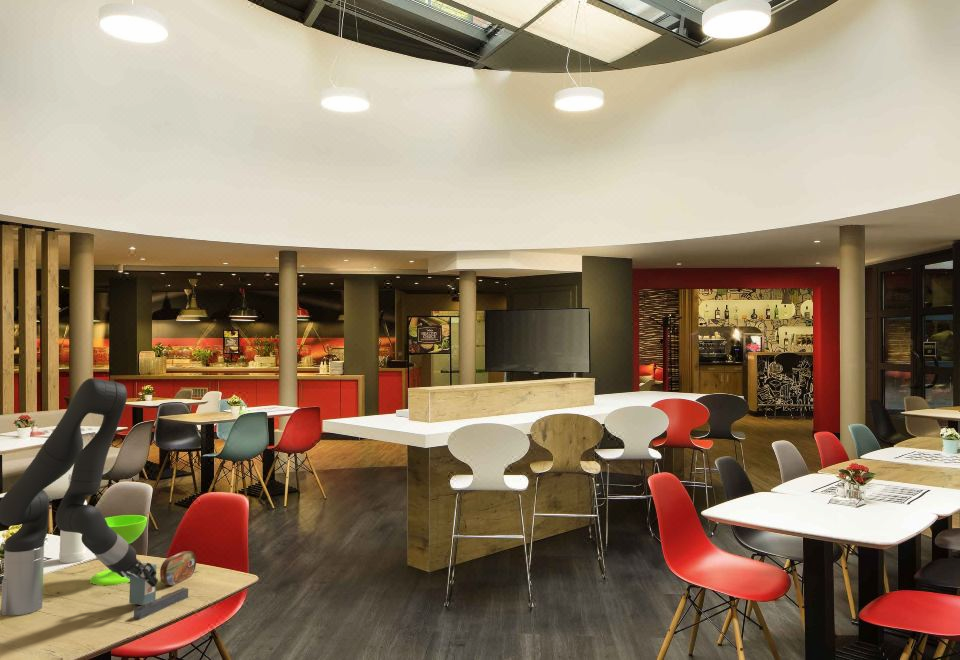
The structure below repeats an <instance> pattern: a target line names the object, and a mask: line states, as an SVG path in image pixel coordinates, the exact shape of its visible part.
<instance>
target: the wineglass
mask: <svg viewBox="0 0 960 660" xmlns="http://www.w3.org/2000/svg"><path fill="white" fill-rule="evenodd" d="M104 518H105V520H106V522H107V524H108V526H109V527H110V528H111V529H112V530H114V531H115V532H116V533H117V534H118V535H120V536H121V537H122V538H123V539H124V540H125V541H127V542H128V543H129V544H130V545H131V544H132V543H134V542H135V541H136V540H137V539H139V537H140V536H141V535H142V534H143V533H144V531H145V528H146V526H147V523H148V517H147V516H146V515H145V516H144V515H138V514H131V515H130V514H125V515H115V516H109V517H104ZM90 582H91V583H93V584H97V585H96V586H98V585H113V586H116V585H115V584H121V583H126V584H128V583H127V582H130V579H128V578H126V576H125V577H121V576H120V575H118V574H117V573H115V572H112V571H111V570H110V569H109V568H108V569H105V570H102V571H99V572H98V573H95V574H94V575H93V576H92V577H90V580H89V583H90ZM91 583H90V584H91ZM93 584H92V585H93ZM121 585H122V584H121Z"/></svg>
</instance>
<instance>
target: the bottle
mask: <svg viewBox="0 0 960 660" xmlns="http://www.w3.org/2000/svg"><path fill="white" fill-rule="evenodd" d="M71 476H72V472H70V473H69V474H68V487H69V486H70V481H71ZM84 505H88V502H87V499H86V500H85V502H84ZM59 531H60V533H59V534H60V535H59V562H60V563H61V564H74V563H79V562H82V561H83V560H85V559H86V555H87V549H86V548H87V547H86V546H85V545H84V544H83V542H82V534H80V533H75V532H65V531H62V530H60V529H59Z"/></svg>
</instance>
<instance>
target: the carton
mask: <svg viewBox="0 0 960 660" xmlns="http://www.w3.org/2000/svg"><path fill="white" fill-rule="evenodd" d="M141 563H142V564H144V565H146V564H147V563H148V562H146V563H145V562H141ZM150 564H151V565H152V566H153V568H154V569H155V571H156V572H157V564H155V563H150ZM141 570H142V569H141ZM141 570H140V572H141ZM140 572H139V573H138V574H140ZM144 576H145V575H144ZM145 577H146V576H145ZM154 577H156V578H157V574H156V575H155V576H154ZM156 590H157V585H156V586H155V587H152V586H151V585H150V584H148V583H147V582H146V581H145V580H143V579H142V578H137V577H135V576H134V575H132V574H130V583H129V596H128V597H129V601H128V603H129V604H134V605H141V606H143V605H145V604H147V603H149V602H152V601H154V600H156V599H157V598H156V596H157V595H156V593H157V591H156Z"/></svg>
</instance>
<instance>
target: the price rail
mask: <svg viewBox="0 0 960 660" xmlns="http://www.w3.org/2000/svg"><path fill="white" fill-rule="evenodd" d="M187 598H189V588H187V587H182V588H179V589H177V590H175V591H173V592H169V593H166V594H164V595H162V596H161V597H158V598H156V600H154V601H151V602H149V603H147V604H145V605H141V606H138V607H136V608H134V609H133V619H134V620H139V619H140V620H141V619H143V618H144V619H145V617H148V616H151V615H152V614H155V613H157V612H159V611H162V610H163V609H166V608H168V607H171V606H172V605H174V604H176V602H177V603H179V602H181V601H183V600H184V599H187Z"/></svg>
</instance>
